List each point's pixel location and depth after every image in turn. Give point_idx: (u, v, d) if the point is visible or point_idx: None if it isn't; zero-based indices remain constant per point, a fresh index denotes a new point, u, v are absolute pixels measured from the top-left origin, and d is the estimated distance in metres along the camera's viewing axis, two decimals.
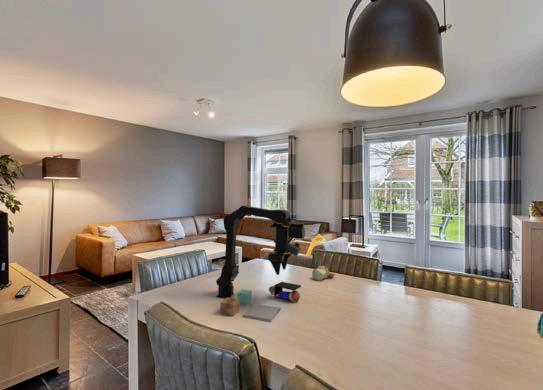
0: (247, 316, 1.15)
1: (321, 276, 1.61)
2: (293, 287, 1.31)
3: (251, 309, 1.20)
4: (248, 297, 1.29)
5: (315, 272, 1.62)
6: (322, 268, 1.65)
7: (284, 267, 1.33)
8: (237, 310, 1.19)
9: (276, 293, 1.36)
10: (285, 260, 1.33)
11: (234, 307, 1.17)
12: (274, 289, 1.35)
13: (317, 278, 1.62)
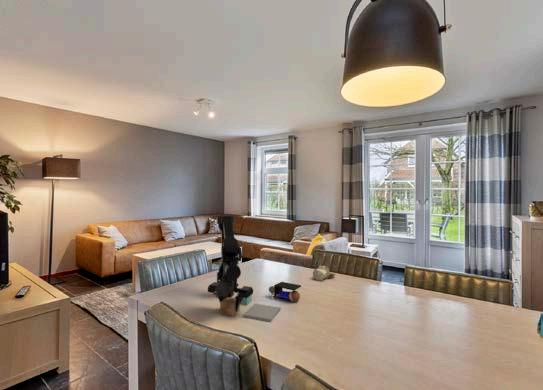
0: (247, 316, 1.15)
1: (322, 276, 1.62)
2: (293, 287, 1.31)
3: (251, 309, 1.20)
4: (248, 297, 1.29)
5: (316, 272, 1.62)
6: (323, 268, 1.65)
7: None
8: None
9: (276, 293, 1.36)
10: None
11: (234, 307, 1.17)
12: (274, 289, 1.35)
13: (318, 278, 1.62)
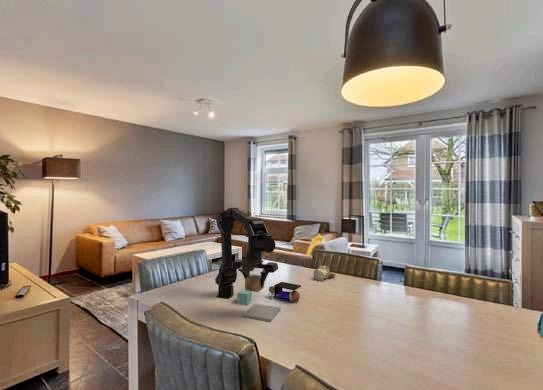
0: (247, 316, 1.15)
1: (323, 276, 1.62)
2: (293, 287, 1.31)
3: (251, 309, 1.20)
4: (248, 297, 1.29)
5: (317, 272, 1.62)
6: (323, 268, 1.65)
7: None
8: None
9: (276, 293, 1.36)
10: None
11: (259, 282, 1.16)
12: (274, 289, 1.35)
13: (319, 278, 1.62)
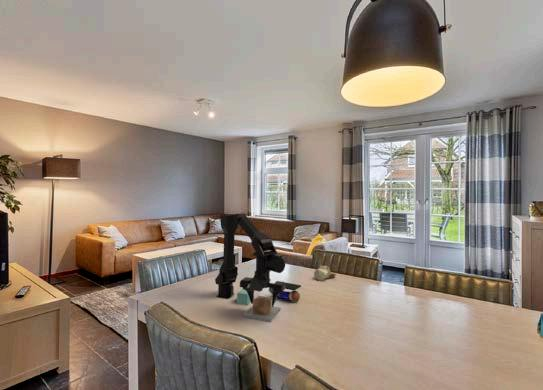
0: (247, 316, 1.15)
1: (323, 276, 1.62)
2: (293, 287, 1.31)
3: (251, 309, 1.20)
4: (248, 297, 1.29)
5: (317, 272, 1.62)
6: (324, 268, 1.65)
7: None
8: (269, 308, 1.18)
9: None
10: None
11: (267, 305, 1.16)
12: None
13: (319, 278, 1.62)
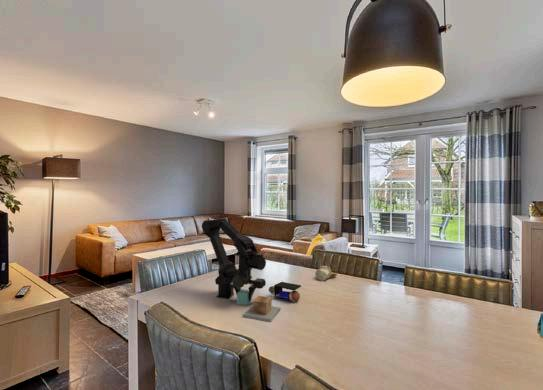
0: (247, 316, 1.15)
1: (325, 276, 1.62)
2: (293, 287, 1.31)
3: (251, 309, 1.20)
4: (248, 297, 1.29)
5: (319, 272, 1.62)
6: (325, 268, 1.65)
7: None
8: (269, 308, 1.18)
9: (276, 293, 1.36)
10: None
11: (267, 305, 1.16)
12: (274, 289, 1.35)
13: (321, 278, 1.62)
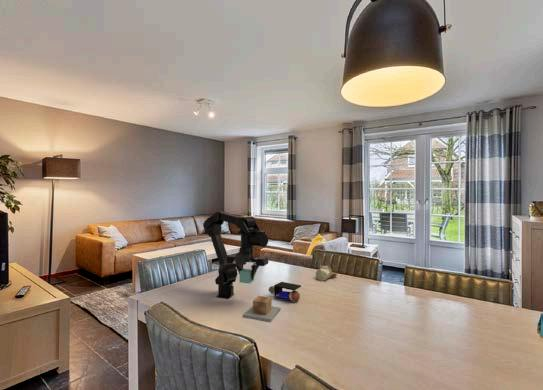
0: (247, 316, 1.15)
1: (325, 276, 1.62)
2: (293, 287, 1.31)
3: (251, 309, 1.20)
4: None
5: (319, 272, 1.62)
6: (326, 268, 1.65)
7: None
8: (269, 308, 1.18)
9: (276, 293, 1.36)
10: None
11: (267, 305, 1.16)
12: (274, 289, 1.35)
13: (321, 278, 1.62)
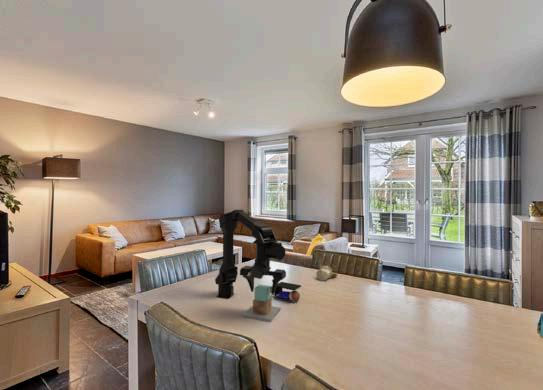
0: (247, 316, 1.15)
1: (326, 276, 1.62)
2: (293, 287, 1.31)
3: (251, 309, 1.20)
4: (267, 293, 1.17)
5: (320, 272, 1.62)
6: (326, 268, 1.65)
7: None
8: (269, 308, 1.18)
9: (276, 293, 1.36)
10: None
11: (267, 305, 1.16)
12: None
13: (322, 278, 1.62)
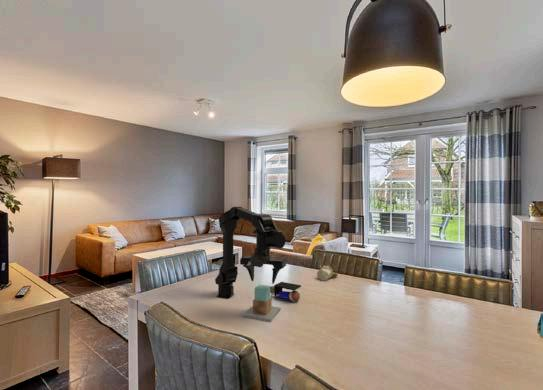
0: (247, 316, 1.15)
1: (327, 276, 1.62)
2: (293, 287, 1.31)
3: (251, 309, 1.20)
4: (267, 293, 1.17)
5: (321, 272, 1.62)
6: (327, 268, 1.65)
7: None
8: (269, 308, 1.18)
9: (276, 293, 1.36)
10: None
11: (267, 305, 1.16)
12: (274, 289, 1.35)
13: (323, 278, 1.62)
